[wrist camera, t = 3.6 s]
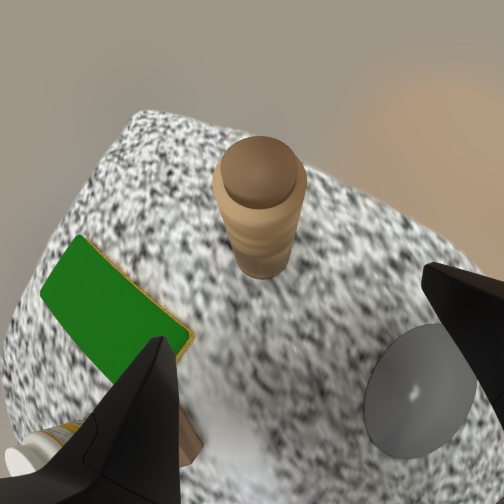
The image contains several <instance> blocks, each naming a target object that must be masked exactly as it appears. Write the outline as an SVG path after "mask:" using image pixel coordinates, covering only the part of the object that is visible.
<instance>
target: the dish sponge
mask: <svg viewBox="0 0 504 504" xmlns="http://www.w3.org/2000/svg"><path fill="white" fill-rule="evenodd" d="M40 297H41V298H42V299H43V301H44V302H45V304H46V305H47V307H48V308H49V309H50V311H51V312H52V313H53V315H54V316H55V318H56V319H57V320H58V322H59V323H60V324H61V325H62V327H63V328H64V329H65V330H66V332H67V333H68V334H69V335H70V337H71V338H72V339H73V340H74V342H75V343H76V344H77V345H78V346H79V347H80V349H81V350H82V351H83V352H84V353H85V354H86V356H87V357H88V358H89V359H90V360H91V361H92V362H93V363H94V364H95V365H96V366H97V368H98V369H99V370H100V371H101V372H102V373H103V374H104V375H105V376H106V377H107V378H108V379H109V380H110V381H111V382H112V383H113V384H114V383H115V382H116V381H117V380H118V378H119V377H120V376H121V375H122V373H123V372H124V371H125V370H126V368H127V367H128V366H129V365H130V364H131V362H132V361H133V360H134V359H135V357H136V356H137V355H138V354H139V352H140V351H141V350H142V349H143V348H144V346H145V345H146V344H147V343H148V341H149V340H150V339H151V338H152V337H156V336H162V335H163V336H165V337H166V339H167V340H168V342H169V344H170V346H171V348H172V350H173V352H174V354H175V357H176V363H177V362H178V360H179V359H180V358H181V356H182V355H183V353H184V352H185V351H186V349H187V348H188V347H189V345H190V344H191V343H192V341H193V340H194V332H193V331H191V330H190V329H189V328H187V327H186V326H185V325H184V324H182V323H181V322H180V321H179V320H177V319H176V318H175V317H174V316H172V315H171V314H170V313H169V312H168V311H166V310H165V309H164V308H163V307H161V306H160V305H159V304H158V303H157V302H156V301H154V300H153V299H152V298H151V297H150V296H148V295H147V294H146V293H145V292H144V291H143V290H142V289H140V288H139V287H138V286H137V285H136V284H135V283H134V282H133V281H131V280H130V279H129V278H128V277H127V276H126V275H125V274H124V273H123V272H122V271H120V270H119V269H118V268H117V267H116V266H115V265H114V264H113V263H112V262H111V261H110V260H109V259H108V258H107V257H106V256H105V255H104V254H103V253H101V252H100V251H99V250H98V249H97V248H96V247H95V246H94V245H93V244H92V243H91V242H90V241H89V240H87V239H86V238H85V237H83V236H82V235H76V237H75V238H74V239H73V241H72V242H71V244H70V245H69V247H68V248H67V249H66V251H65V252H64V254H63V255H62V257H61V258H60V260H59V261H58V263H57V264H56V266H55V267H54V269H53V271H52V272H51V274H50V275H49V277H48V279H47V280H46V282H45V284H44V285H43V287H42V289H41V290H40Z"/></svg>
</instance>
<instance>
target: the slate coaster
mask: <svg viewBox="0 0 504 504" xmlns="http://www.w3.org/2000/svg"><path fill="white" fill-rule="evenodd" d="M476 388H477V378H476V376H475V374H474V373H473V371H472V369H471V368H470V366H469V364H468V363H467V361H466V360H465V358H464V356H463V355H462V353H461V352H460V350H459V348H458V347H457V345H456V344H455V342H454V341H453V339H452V338H451V336H450V335H449V333H448V332H447V330H446V329H445V327H444V326H443V325H442V324H428V325H424V326H420V327H417V328H414V329H412V330H410V331H408V332H407V333H405V334H403V335H402V336H401V337H399V338H398V339H397V340H396V341H395V342H394V343H393V344H391V345H390V347H389V348H388V349H387V350H386V351H385V352H384V354H383V355H382V357H381V358H380V360H379V361H378V363H377V365H376V366H375V368H374V370H373V372H372V375H371V377H370V379H369V382H368V386H367V389H366V393H365V398H364V420H365V426H366V429H367V432H368V434H369V436H370V438H371V440H372V441H373V443H374V444H375V445H376V446H377V447H378V448H379V449H380V450H381V451H383V452H384V453H386V454H388V455H390V456H392V457H395V458H400V459H412V458H418V457H421V456H424V455H427V454H429V453H431V452H433V451H435V450H437V449H438V448H440V447H441V446H442V445H444V444H445V443H446V442H447V441H448V440H450V439H451V438H452V437H453V435H454V434H455V433H456V432H457V431H458V430H459V428H460V427H461V425H462V424H463V422H464V421H465V419H466V417H467V415H468V413H469V411H470V409H471V406H472V404H473V401H474V397H475V394H476Z"/></svg>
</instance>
